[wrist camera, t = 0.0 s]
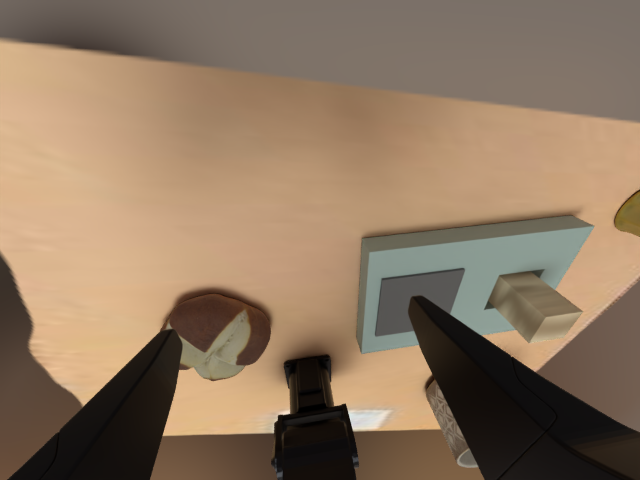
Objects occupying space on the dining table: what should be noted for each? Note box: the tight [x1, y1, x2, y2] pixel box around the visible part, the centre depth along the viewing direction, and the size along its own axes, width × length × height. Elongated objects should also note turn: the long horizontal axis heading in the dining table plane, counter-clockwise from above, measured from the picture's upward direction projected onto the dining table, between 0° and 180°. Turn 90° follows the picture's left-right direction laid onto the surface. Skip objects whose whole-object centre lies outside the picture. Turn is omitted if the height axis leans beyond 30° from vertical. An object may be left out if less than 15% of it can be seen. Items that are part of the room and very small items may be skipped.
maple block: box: [488, 271, 583, 343], centre depth 29 cm, size 4×4×8 cm
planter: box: [426, 380, 478, 467], centre depth 41 cm, size 13×13×10 cm
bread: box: [160, 294, 271, 381], centre depth 28 cm, size 11×11×5 cm
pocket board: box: [356, 215, 594, 354], centre depth 30 cm, size 16×24×3 cm, turn 92°
